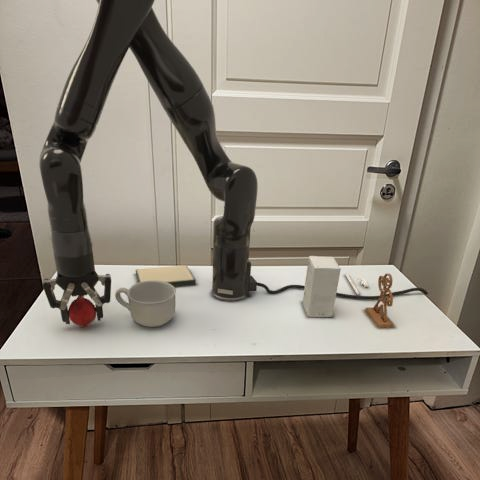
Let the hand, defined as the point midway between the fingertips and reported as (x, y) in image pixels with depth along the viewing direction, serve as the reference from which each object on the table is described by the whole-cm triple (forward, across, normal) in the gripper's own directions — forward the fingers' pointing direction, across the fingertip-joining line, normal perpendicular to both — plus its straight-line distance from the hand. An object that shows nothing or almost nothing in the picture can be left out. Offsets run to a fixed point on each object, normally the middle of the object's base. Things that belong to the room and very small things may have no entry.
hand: (83, 320), depth 96 cm
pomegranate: (+2, 0, 0) cm, 2 cm away
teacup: (+2, +14, 0) cm, 14 cm away
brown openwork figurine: (+2, +69, -13) cm, 70 cm away
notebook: (+2, +22, +22) cm, 31 cm away
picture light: (+2, +75, +6) cm, 75 cm away
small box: (+2, +56, -5) cm, 56 cm away
